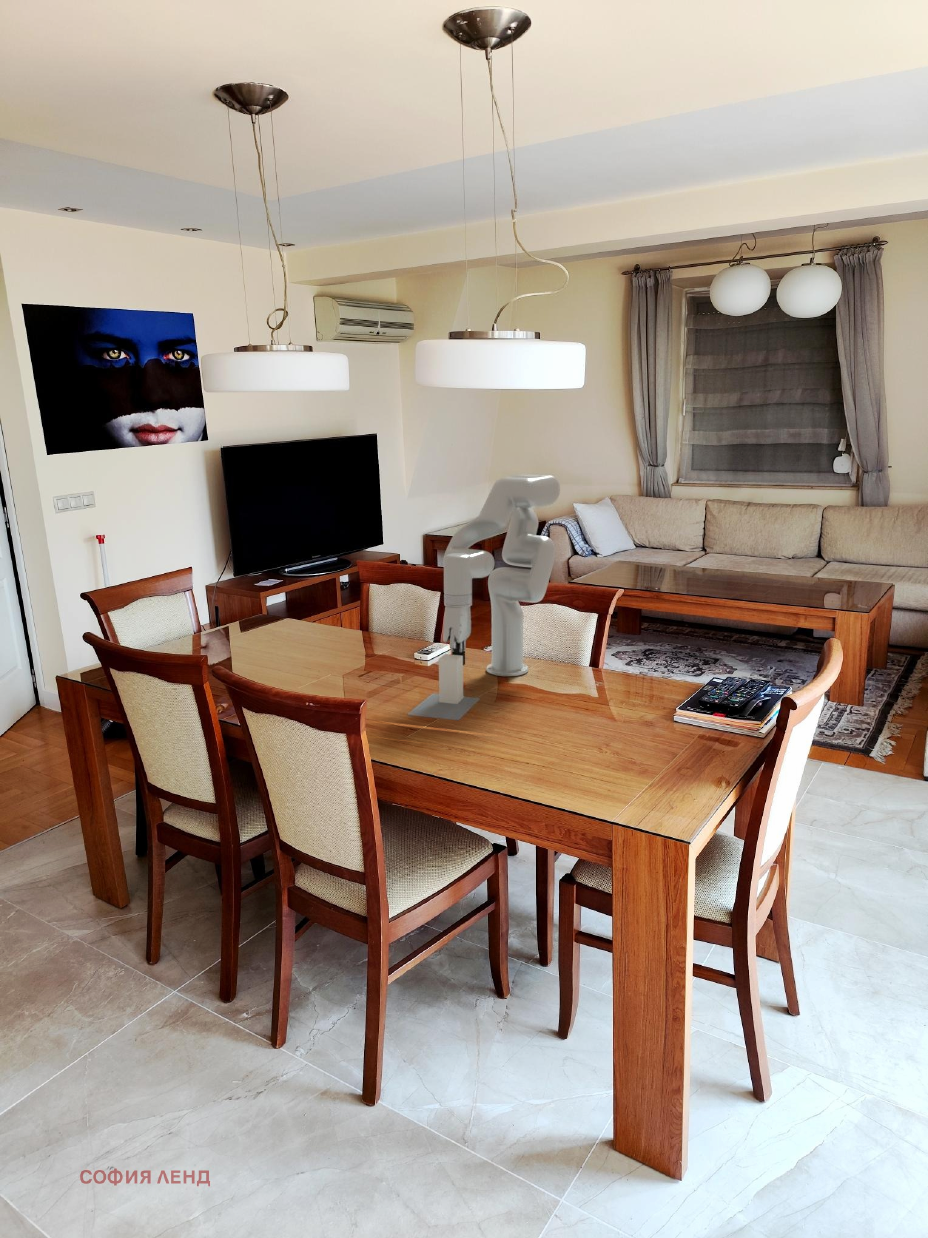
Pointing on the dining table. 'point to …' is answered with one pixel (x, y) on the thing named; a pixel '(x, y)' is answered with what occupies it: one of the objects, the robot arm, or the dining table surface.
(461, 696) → the letter block
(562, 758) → the dining table surface
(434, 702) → the mat
